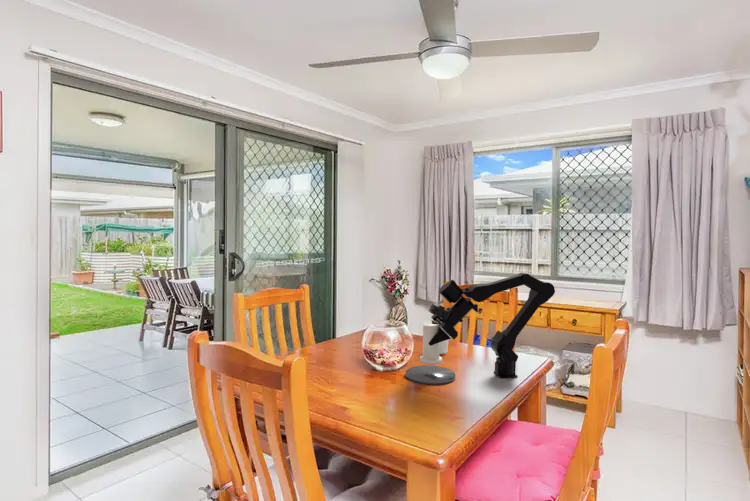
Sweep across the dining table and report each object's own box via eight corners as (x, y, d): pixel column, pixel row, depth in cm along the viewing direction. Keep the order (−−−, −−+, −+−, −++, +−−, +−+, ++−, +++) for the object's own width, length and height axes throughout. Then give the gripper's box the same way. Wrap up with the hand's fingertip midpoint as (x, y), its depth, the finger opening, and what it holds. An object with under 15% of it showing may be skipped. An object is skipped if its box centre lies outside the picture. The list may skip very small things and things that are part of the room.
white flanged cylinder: (444, 359, 164) (444, 324, 163) (439, 365, 156) (439, 328, 156) (423, 356, 167) (423, 322, 166) (417, 362, 159) (417, 326, 159)
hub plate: (445, 367, 172) (445, 364, 172) (463, 383, 155) (463, 379, 155) (400, 369, 169) (400, 366, 169) (413, 386, 151) (413, 382, 151)
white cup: (449, 354, 190) (450, 331, 189) (431, 354, 190) (431, 331, 190) (447, 349, 198) (447, 327, 197) (429, 349, 198) (429, 327, 197)
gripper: (436, 292, 170) (407, 321, 170) (449, 300, 151) (416, 333, 151) (456, 313, 171) (428, 341, 171) (471, 323, 153) (439, 355, 152)
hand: (427, 342), depth 161 cm, fingers closed on white flanged cylinder, 6 cm apart
